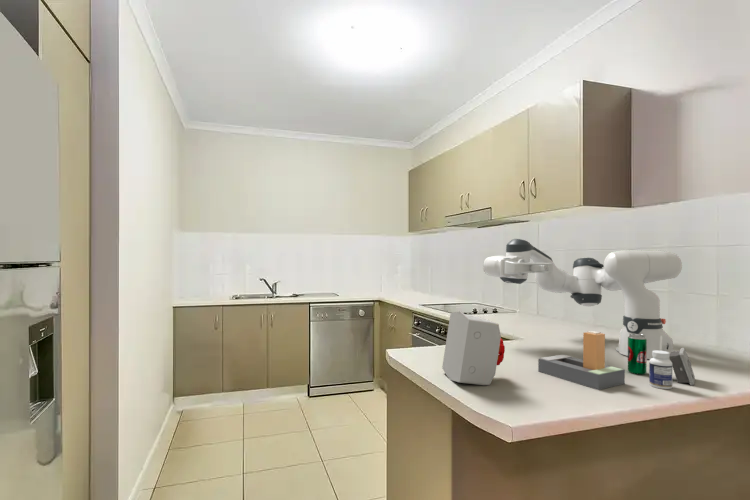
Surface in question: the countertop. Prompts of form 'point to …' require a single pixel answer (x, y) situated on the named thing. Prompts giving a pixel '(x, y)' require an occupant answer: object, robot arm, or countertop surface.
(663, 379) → the pill bottle
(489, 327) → the electrical switch box
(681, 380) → the electrical switch
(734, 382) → the countertop surface
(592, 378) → the toggle switch
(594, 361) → the switch tab
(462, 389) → the countertop surface
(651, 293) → the robot arm
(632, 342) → the soda can
